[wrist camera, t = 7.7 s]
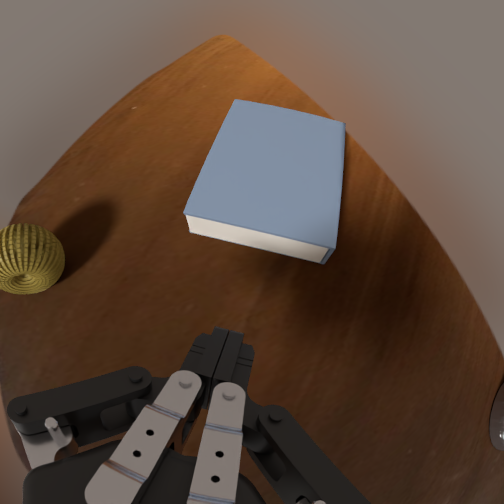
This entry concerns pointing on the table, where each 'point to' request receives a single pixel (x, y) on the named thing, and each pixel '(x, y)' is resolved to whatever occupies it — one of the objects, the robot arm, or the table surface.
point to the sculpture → (38, 267)
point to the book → (272, 182)
